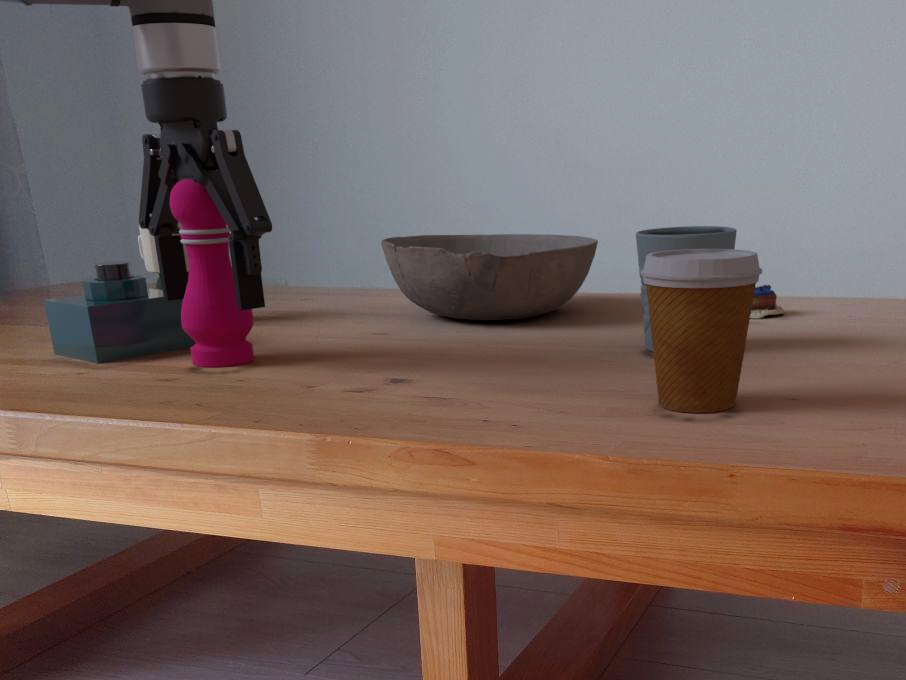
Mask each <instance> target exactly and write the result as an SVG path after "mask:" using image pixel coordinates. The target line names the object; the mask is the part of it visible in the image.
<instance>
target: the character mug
mask: <svg viewBox="0 0 906 680" xmlns="http://www.w3.org/2000/svg"><path fill="white" fill-rule="evenodd" d="M177 226H178V227H179V229H180V230H181V229H183V227H182V225H181V224H180V223H179V222H178V225H177ZM138 229H139V235H138V236H137V243H138V249H139V255H140V258H141V259H142V260H143V261H144V266H145V269H146V271H147V272H150V273H152V274H158V277H157V280H156V283H155V289H158V290H163V289H162V283H161V276H160V270H159V264H158V258H157V252H156V245H155V239H154V236H152V235H151V234H150V232H149V230H148V229H142V228H141V227H140V225H139V224H138ZM172 235H182V234H172ZM183 249H184V256H185V262H186V269H187V276H188V277H189V262H188V255H187V250H186V246H185V244H183Z"/></svg>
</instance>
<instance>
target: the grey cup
mask: <svg viewBox="0 0 906 680" xmlns="http://www.w3.org/2000/svg"><path fill="white" fill-rule="evenodd" d="M736 240H737V228H735V227H730V226H717V225H691V226H669V227H658V228H650V229H643V230H639V231H636V233H635V242H636V253H637V261H638V272H639V274H638V275H639V279H640V284H641V285H640V297H641V307H642V308H641V309H642V311H643V319H642V321H643V337H644V346H645V347H644V348H645V349H646V350H648V351H649V352H650V351H651V352H653V344H652V335H651V326H650V316H649V307H648V297H647V288H646V283H644V279H643V276H642V275H641V273H640V271H641V270H643V269H644V265H645V260H646V256H647V254H649V253H653V252H659V251H669V250H684V249H733V250H736Z"/></svg>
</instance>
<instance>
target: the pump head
mask: <svg viewBox="0 0 906 680" xmlns="http://www.w3.org/2000/svg"><path fill="white" fill-rule="evenodd" d="M93 266H94V271H95V277H97V281H109V280H122V279H130V278H132V277H131V275H132V272H131V265H130V262H129V261H104V262H97V263H94V264H93Z"/></svg>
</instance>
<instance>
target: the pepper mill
mask: <svg viewBox="0 0 906 680" xmlns="http://www.w3.org/2000/svg"><path fill="white" fill-rule="evenodd" d="M170 209H171V212H172V214H173V216H174V217H175V218H176V219H177V220H178V221H179V223H180V224H181V225H182V227H183V229H181V230H179V233H180V234H182V235H181V238H182V239H181V243H182V244H185V246H186V250H187V255H188V262H189V277H188V283H187V287H186V291H185V295H184V299H183V303H182V310H181V322H182V328H183V329H184V331H185V332H186V333H187V334H188V335H189V336H190V337H191V338H192V339H193V340H194V341H195V343H196V344H195V345H194V346H192V347H191V348H189V349H190V355H191V362H192V365H193V366H195V367H198V368H199V367H200V368H227V367H228V368H229V367H235V366H241V365H246V364H248V363H251V362H253V361H254V360H255V356H254V348H253V343H252V342H251V341H249V340H247V337H248V335H249V334H250V332H251V331H252V329H253V327H254V324H255V318H254V314H253V309H249V310H238V309H237V302H236V294H235V286H234V279H233V271H232V263H231V256H230V248H229V240H228V238H229V236H230V234H231V231H230V229H229V228H228V226H227V224H226V223H225V221H224V219H223V217H222V216H221V214H220V212H219V210H218V209H217V207H216V205H215V204H214V202H213V200H212V198H211V197H210V195H209V193H208V192H207V190H206V188H205V187H204V186H202V185H200V184H199V183H198V182H197V181H192V180H190V179H183V180H181V181H179V182H178V183H177V184H176V185H175V186H174V187H173V189H172V191H171V194H170Z"/></svg>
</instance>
